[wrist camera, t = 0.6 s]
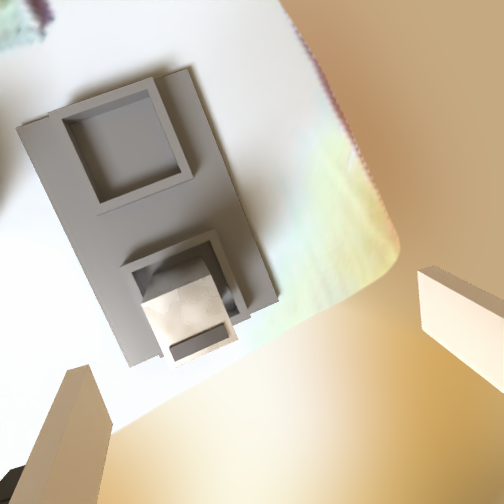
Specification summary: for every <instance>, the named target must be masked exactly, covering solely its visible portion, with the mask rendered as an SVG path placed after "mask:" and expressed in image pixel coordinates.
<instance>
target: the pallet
mask: <svg viewBox="0 0 504 504" xmlns="http://www.w3.org/2000/svg"><path fill="white" fill-rule="evenodd" d="M48 115H49V117H46V118H43V119H40V120H38V121H35V122H32V123H29V124H26V125H23V126H20V127H17V128H16V130H17V132H18V134H19V137H20V139H21V141H22V143H23V145H24V147H25V149H26V151H27V153H28V155H29V157H30V160H31V162H32V164H33V166H34V168H35V170H36V172H37V174H38V176H39V178H40V181H41V183H42V185H43V187H44V189H45V191H46V193H47V195H48V197H49V199H50V201H51V204H52V206H53V208H54V210H55V212H56V214H57V216H58V218H59V220H60V222H61V224H62V227H63V229H64V231H65V233H66V235H67V237H68V239H69V241H70V243H71V245H72V248H73V250H74V252H75V254H76V256H77V258H78V260H79V262H80V264H81V266H82V268H83V271H84V273H85V275H86V277H87V279H88V281H89V283H90V285H91V287H92V289H93V291H94V294H95V296H96V298H97V300H98V302H99V304H100V306H101V308H102V310H103V312H104V314H105V317H106V319H107V321H108V323H109V325H110V327H111V329H112V331H113V333H114V335H115V338H116V340H117V342H118V344H119V346H120V348H121V350H122V352H123V354H124V356H125V358H126V361H127V363H128V365H129V367H132V366H135V365H137V364H139V363H141V362H144V361H146V360H148V359H150V358H153V357H155V356H157V355H159V356H160V358H161V357H164V354H163V352H162V349H161V347H160V345H159V343H158V341H157V338H156V336H155V334H154V332H153V330H152V328H151V325H150V323H149V321H148V319H147V317H146V314H145V312H144V310H143V308H142V306H141V302H142V300H143V297H144V295H145V292H146V290H147V287H148V284H149V282H150V279H151V277H152V275H154V274H156V273H159V272H161V271H163V270H166V269H168V268H171V267H173V266H175V265H178V264H180V263H183V262H185V261H187V260H190V259H192V258H195V257H197V256H199V255H201V257H202V258H203V260H204V262H205V264H206V266H207V268H208V270H209V272H210V274H211V276H212V278H213V281H214V283H215V286H216V288H217V290H218V293H219V295H220V297H221V300H222V302H223V305H224V307H225V309H226V312H227V314H228V316H229V319H230V321H231V324H232V326H233V325H235V324H238V323H240V322H242V321H244V320H247V319H249V318H251V316H250V314H251V313H254V312H256V311H258V310H260V309H263V308H265V307H267V306H269V305H272V304H274V303H276V302H278V301H279V300H278V298H277V295H276V293H275V290H274V288H273V285H272V282H271V280H270V277H269V275H268V272H267V270H266V267H265V265H264V262H263V260H262V257H261V254H260V252H259V249H258V247H257V244H256V242H255V239H254V237H253V234H252V232H251V229H250V227H249V224H248V221H247V219H246V216H245V214H244V211H243V209H242V206H241V204H240V201H239V199H238V196H237V194H236V191H235V188H234V186H233V183H232V181H231V178H230V176H229V173H228V171H227V168H226V166H225V163H224V161H223V158H222V155H221V153H220V150H219V148H218V145H217V143H216V140H215V138H214V135H213V133H212V130H211V128H210V125H209V122H208V120H207V117H206V115H205V112H204V110H203V107H202V105H201V102H200V100H199V97H198V94H197V92H196V89H195V87H194V84H193V82H192V79H191V77H190V74H189V72H188V69H184V70H181V71H178V72H175V73H173V74H170V75H167V76H164V77H161V78H158V79H155V80H153V77H149V78H146V79H144V80H141V81H138V82H135V83H132V84H129V85H126V86H123V87H121V88H118V89H115V90H112V91H109V92H106V93H103V94H100V95H97V96H95V97H92V98H89V99H86V100H83V101H80V102H77V103H74V104H71V105H69V106H66V107H63V108H60V109H57V110H54V111H51V112H48Z"/></svg>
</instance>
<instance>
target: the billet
mask: <svg viewBox="0 0 504 504" xmlns="http://www.w3.org/2000/svg"><path fill="white" fill-rule="evenodd" d="M141 306H142V308H143V310H144V312H145V314H146V317H147V319H148V321H149V323H150V325H151V328H152V330H153V332H154V334H155V336H156V338H157V341H158V343H159V345H160V347H161V349H162V352H163V354H164V356H165V358H166V360H167V362H168V365H169V367H170V369H171V370H172V369H174V368H176V367H178V366H180V365H183V364H185V363H187V362H189V361H191V360H194V359H196V358H198V357H200V356H202V355H205V354H207V353H209V352H211V351H214V350H216V349H218V348H220V347H222V346H225V345H227V344H229V343H231V342H233V341H236V340H238V338H237V335H236V333H235V331H234V328H233V326H232V324H231V321H230V319H229V316H228V314H227V312H226V309H225V307H224V305H223V302H222V300H221V297H220V295H219V293H218V290H217V288H216V286H215V283H214V281H213V278H212V276H211V274H210V272H209V270H208V268H207V266H206V264H205V262H204V260H203V258H202V257H201V255H199V256H197V257H195V258H192V259H190V260H187V261H185V262H183V263H180V264H178V265H175V266H173V267H171V268H168V269H166V270H163V271H161V272H159V273H156V274H154V275H152V277H151V279H150V282H149V284H148V287H147V290H146V292H145V295H144V297H143V300H142V302H141Z"/></svg>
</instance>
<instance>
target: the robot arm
mask: <svg viewBox="0 0 504 504" xmlns="http://www.w3.org/2000/svg"><path fill="white" fill-rule="evenodd" d="M417 272H418V284H419V297H420V310H421V322H422V330H423V331H425V332H426V333H427V334H428V335H430V336H431V337H432V338H433V339H435V340H436V341H437V342H439V343H440V344H441V345H442V346H444V347H445V348H446V349H448V350H449V351H450V352H452V353H453V354H454V355H455V356H456V357H458V358H459V359H460V360H462V361H463V362H464V363H465V364H467V365H468V366H469V367H471V368H472V369H473V370H474V371H476V372H477V373H478V374H479V375H481V376H482V377H483V378H485V379H486V380H487V381H488V382H490V383H491V384H492V385H493V386H495V387H496V388H497V389H499V390H500V391H501V392H503V393H504V300H502V299H500V298H498V297H496V296H494V295H492V294H490V293H488V292H486V291H484V290H482V289H480V288H478V287H476V286H474V285H472V284H470V283H468V282H466V281H464V280H462V279H460V278H458V277H456V276H454V275H452V274H450V273H448V272H446V271H444V270H442V269H440V268H438V267H436V266H432V267H428V268H425V269H421V270H418V271H417ZM112 425H113V424H112V421H111V419H110V416H109V414H108V411H107V409H106V406H105V404H104V401H103V399H102V397H101V394H100V392H99V389H98V387H97V384H96V382H95V379H94V377H93V374H92V372H91V369H90V367H89V365H85V366H82V367H78V368H75V369H71V370H68V371H67V372H66V374H65V377H64V379H63V381H62V384H61V386H60V388H59V390H58V393H57V395H56V397H55V399H54V402H53V404H52V406H51V409H50V411H49V413H48V415H47V418H46V420H45V422H44V424H43V427H42V429H41V431H40V434H39V436H38V438H37V440H36V443H35V445H34V447H33V449H32V452H31V454H30V456H29V459H28V461H27V463H26V465H24V466H21V467H18V468H14V469H11V470H10V471H9V472H8V473H7V474H6V475H5V476H4V478H3V479H2V480H1V481H0V504H97V499H98V494H99V489H100V484H101V480H102V474H103V469H104V465H105V460H106V454H107V450H108V445H109V440H110V435H111V430H112Z"/></svg>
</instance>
